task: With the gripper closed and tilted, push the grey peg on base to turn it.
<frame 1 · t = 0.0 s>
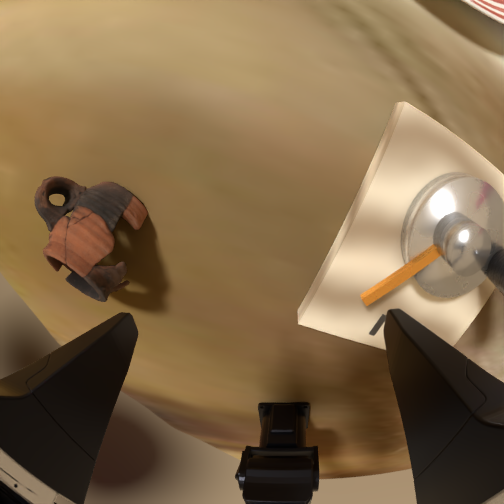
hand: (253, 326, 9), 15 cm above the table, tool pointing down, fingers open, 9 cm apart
grey peg on base: (482, 281, 15), point 8 cm above the table, hinge at 0.0°
stand: (429, 253, 23), on the table
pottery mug: (104, 220, 25), on the table
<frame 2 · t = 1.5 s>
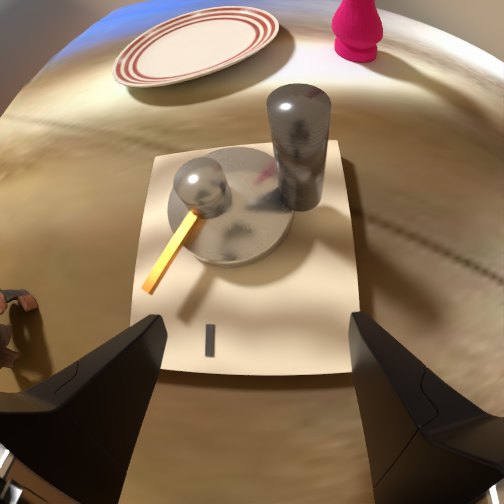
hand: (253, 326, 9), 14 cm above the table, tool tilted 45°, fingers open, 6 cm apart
pepper mill: (355, 53, 33), on the table
grey peg on base: (222, 186, 18), point 8 cm above the table, hinge at 0.0°
dinner plate: (196, 50, 38), on the table
stand: (242, 252, 25), on the table
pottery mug: (18, 323, 27), on the table
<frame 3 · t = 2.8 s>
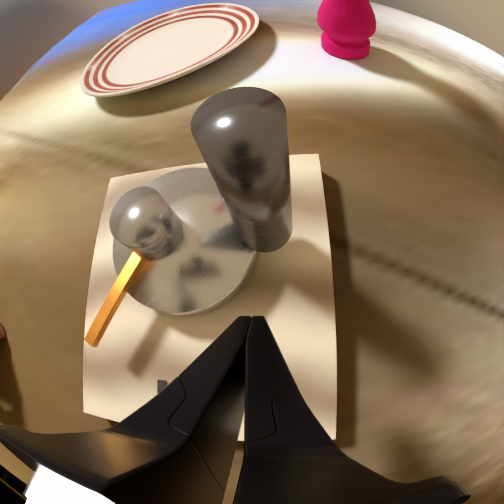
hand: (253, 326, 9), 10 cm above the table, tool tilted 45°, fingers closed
pepper mill: (345, 49, 29), on the table
grey peg on base: (159, 228, 14), point 8 cm above the table, hinge at 0.0°
dinner plate: (170, 52, 34), on the table
stand: (202, 293, 21), on the table
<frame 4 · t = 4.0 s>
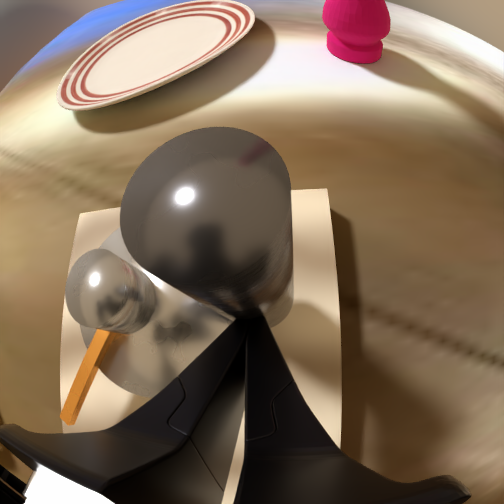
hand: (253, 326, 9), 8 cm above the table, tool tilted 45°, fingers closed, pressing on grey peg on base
pepper mill: (353, 51, 25), on the table
grey peg on base: (120, 314, 10), point 8 cm above the table, hinge at 1.7°, touching gripper
dinner plate: (155, 55, 30), on the table
stand: (186, 360, 17), on the table
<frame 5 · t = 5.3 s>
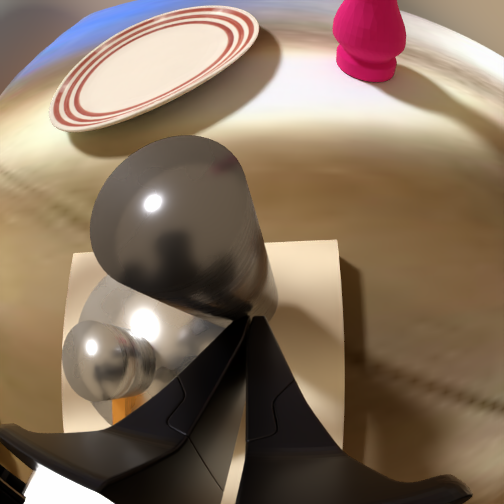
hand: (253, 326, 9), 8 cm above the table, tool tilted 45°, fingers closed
pepper mill: (365, 67, 24), on the table
grey peg on base: (128, 372, 9), point 8 cm above the table, hinge at 29.3°, touching gripper
dinner plate: (152, 68, 29), on the table
stand: (188, 411, 16), on the table
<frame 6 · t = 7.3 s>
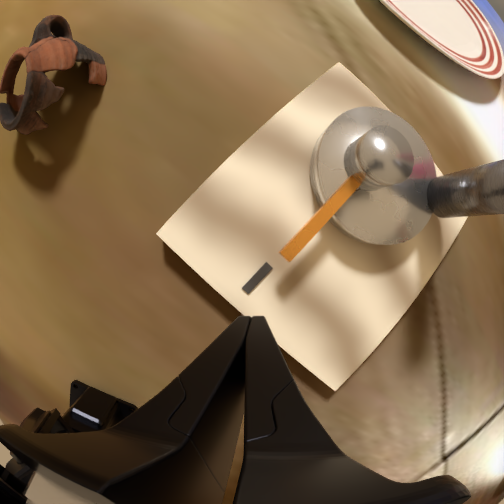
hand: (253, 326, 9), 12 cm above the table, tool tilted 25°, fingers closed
grey peg on base: (418, 183, 15), point 8 cm above the table, hinge at 29.4°
dinner plate: (426, 7, 23), on the table
stand: (338, 220, 22), on the table
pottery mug: (63, 85, 20), on the table
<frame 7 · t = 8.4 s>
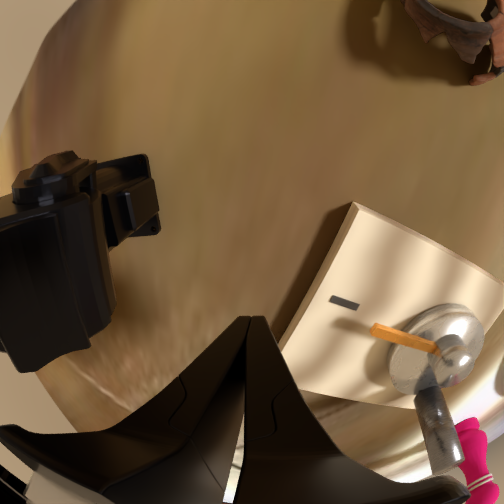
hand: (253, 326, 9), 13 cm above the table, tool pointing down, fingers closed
pepper mill: (461, 426, 33), on the table
grey peg on base: (439, 395, 18), point 8 cm above the table, hinge at 29.4°
stand: (396, 328, 25), on the table
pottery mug: (455, 27, 13), on the table
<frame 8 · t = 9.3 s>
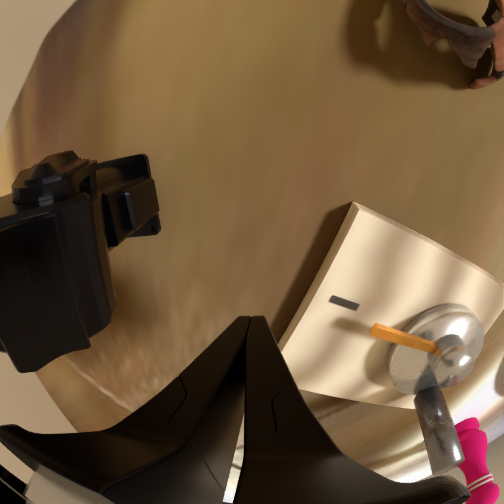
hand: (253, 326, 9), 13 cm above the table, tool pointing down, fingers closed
pepper mill: (461, 426, 33), on the table
grey peg on base: (439, 395, 18), point 8 cm above the table, hinge at 29.4°
stand: (396, 328, 25), on the table
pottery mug: (457, 30, 13), on the table
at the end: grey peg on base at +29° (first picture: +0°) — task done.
